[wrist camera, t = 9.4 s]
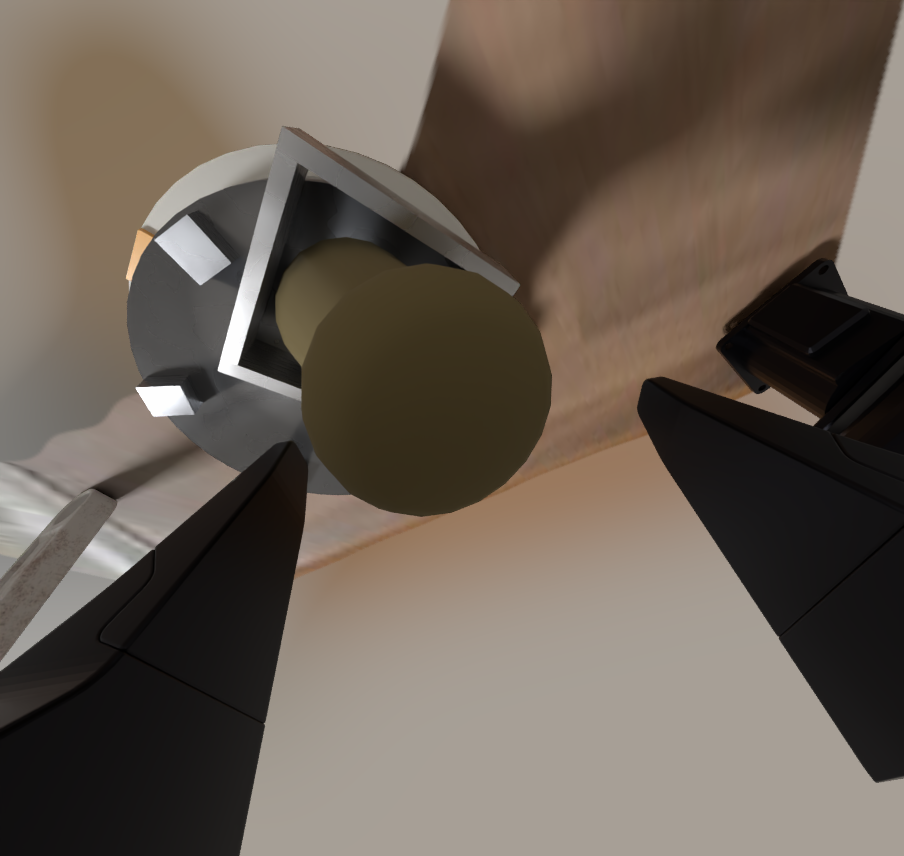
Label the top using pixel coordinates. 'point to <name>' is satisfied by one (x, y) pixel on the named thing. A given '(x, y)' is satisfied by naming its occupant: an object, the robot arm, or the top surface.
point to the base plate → (258, 166)
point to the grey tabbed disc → (261, 296)
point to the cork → (412, 375)
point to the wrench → (48, 562)
